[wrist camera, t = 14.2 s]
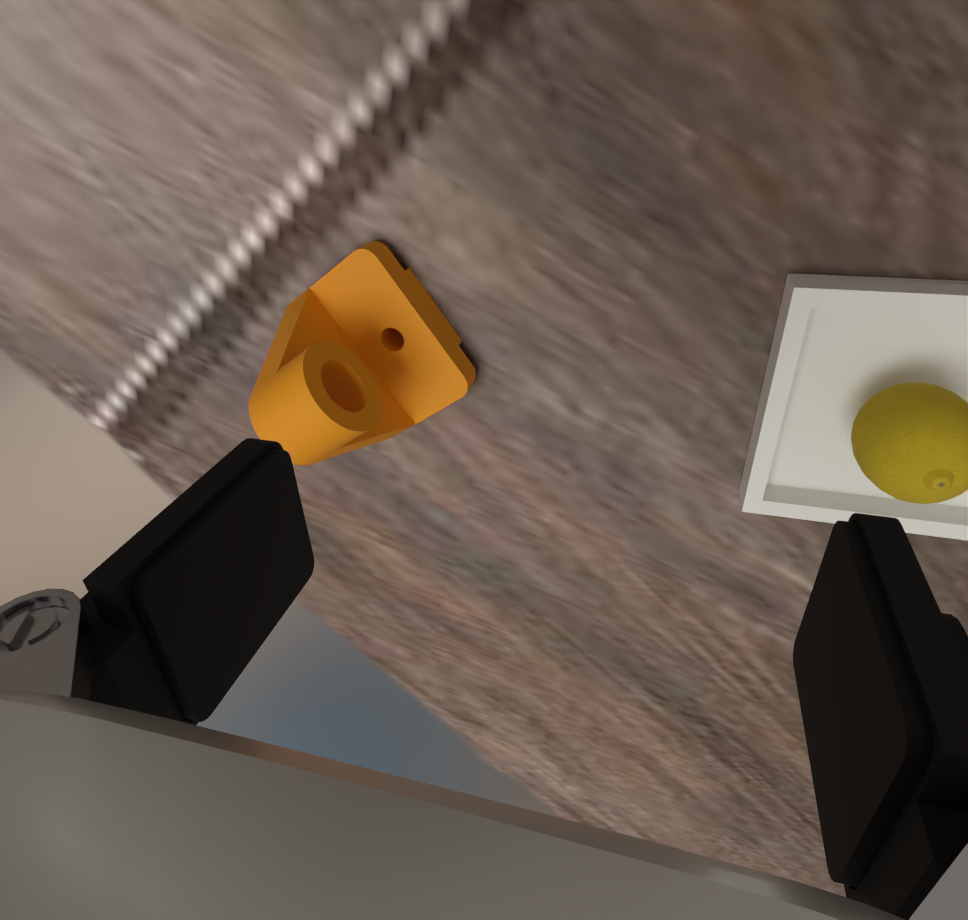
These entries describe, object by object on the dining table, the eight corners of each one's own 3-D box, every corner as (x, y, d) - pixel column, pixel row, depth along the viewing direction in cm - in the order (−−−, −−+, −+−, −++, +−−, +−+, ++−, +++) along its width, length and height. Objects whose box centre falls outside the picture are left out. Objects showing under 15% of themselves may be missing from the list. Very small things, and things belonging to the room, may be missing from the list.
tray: (787, 273, 34) (794, 287, 32) (1103, 286, 30) (1133, 303, 28) (739, 489, 41) (741, 511, 39) (987, 518, 38) (1004, 545, 36)
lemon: (822, 436, 37) (851, 516, 31) (864, 349, 34) (905, 418, 28) (923, 458, 36) (975, 545, 30) (975, 371, 33) (1045, 447, 27)
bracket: (485, 372, 42) (422, 470, 32) (407, 418, 45) (329, 518, 36) (383, 231, 38) (279, 291, 29) (308, 292, 42) (193, 364, 32)
